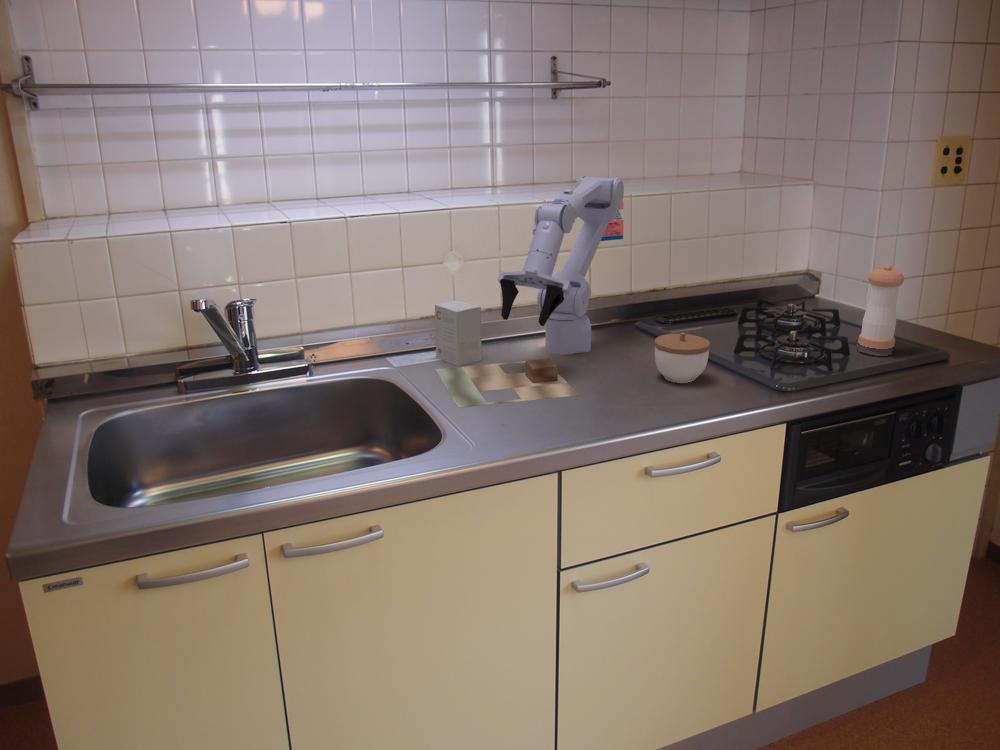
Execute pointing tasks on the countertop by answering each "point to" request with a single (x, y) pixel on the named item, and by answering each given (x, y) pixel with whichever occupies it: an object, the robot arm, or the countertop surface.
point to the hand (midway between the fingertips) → (522, 320)
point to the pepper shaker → (881, 309)
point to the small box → (458, 332)
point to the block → (541, 370)
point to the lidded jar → (681, 356)
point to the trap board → (497, 384)
